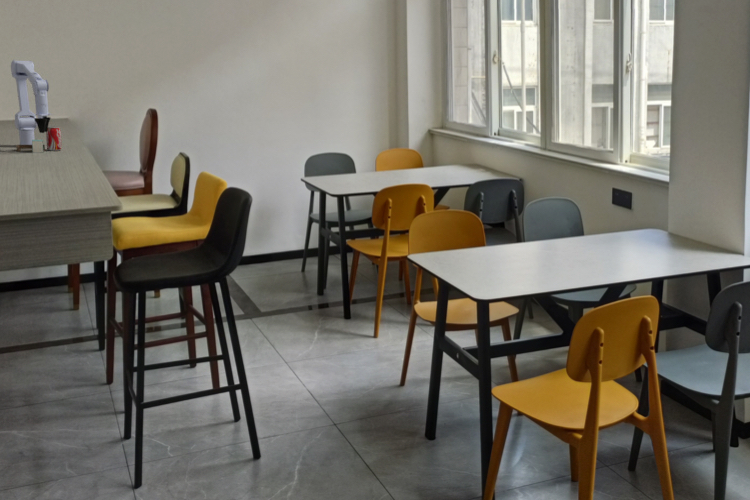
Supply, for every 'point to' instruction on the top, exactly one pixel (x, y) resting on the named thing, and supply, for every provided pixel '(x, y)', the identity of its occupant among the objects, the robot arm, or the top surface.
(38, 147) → the block
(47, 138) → the soda can
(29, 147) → the tray
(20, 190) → the top surface
